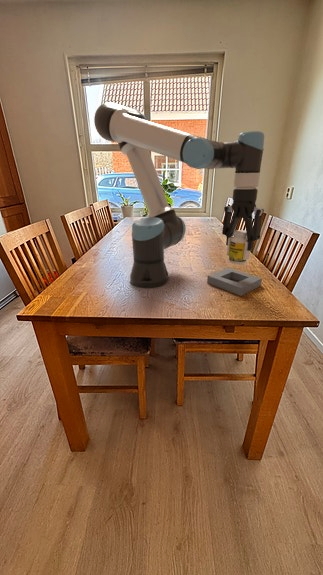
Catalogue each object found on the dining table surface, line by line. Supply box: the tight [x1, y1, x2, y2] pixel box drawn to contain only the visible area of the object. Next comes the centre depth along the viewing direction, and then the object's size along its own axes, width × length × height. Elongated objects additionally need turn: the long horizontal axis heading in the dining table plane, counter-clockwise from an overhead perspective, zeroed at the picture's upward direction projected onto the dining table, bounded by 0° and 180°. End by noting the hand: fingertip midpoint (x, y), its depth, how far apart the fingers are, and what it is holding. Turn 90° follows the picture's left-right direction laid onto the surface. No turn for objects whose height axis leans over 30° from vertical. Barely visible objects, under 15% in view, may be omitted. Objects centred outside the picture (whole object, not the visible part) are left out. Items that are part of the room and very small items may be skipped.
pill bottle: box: [228, 229, 248, 265], centre depth 88 cm, size 6×6×11 cm
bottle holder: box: [206, 267, 263, 297], centre depth 94 cm, size 13×15×3 cm
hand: (237, 256), depth 90 cm, fingers closed on pill bottle, 6 cm apart
